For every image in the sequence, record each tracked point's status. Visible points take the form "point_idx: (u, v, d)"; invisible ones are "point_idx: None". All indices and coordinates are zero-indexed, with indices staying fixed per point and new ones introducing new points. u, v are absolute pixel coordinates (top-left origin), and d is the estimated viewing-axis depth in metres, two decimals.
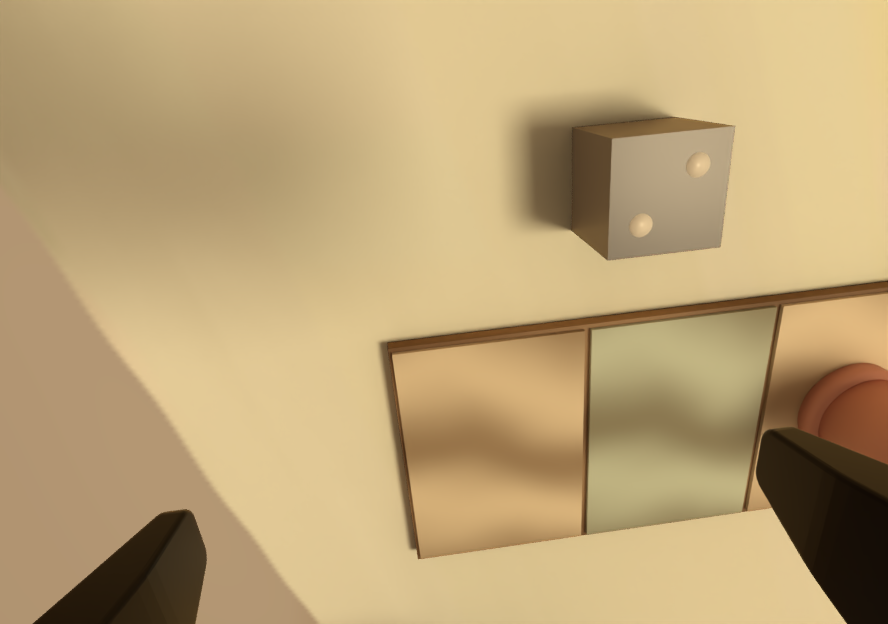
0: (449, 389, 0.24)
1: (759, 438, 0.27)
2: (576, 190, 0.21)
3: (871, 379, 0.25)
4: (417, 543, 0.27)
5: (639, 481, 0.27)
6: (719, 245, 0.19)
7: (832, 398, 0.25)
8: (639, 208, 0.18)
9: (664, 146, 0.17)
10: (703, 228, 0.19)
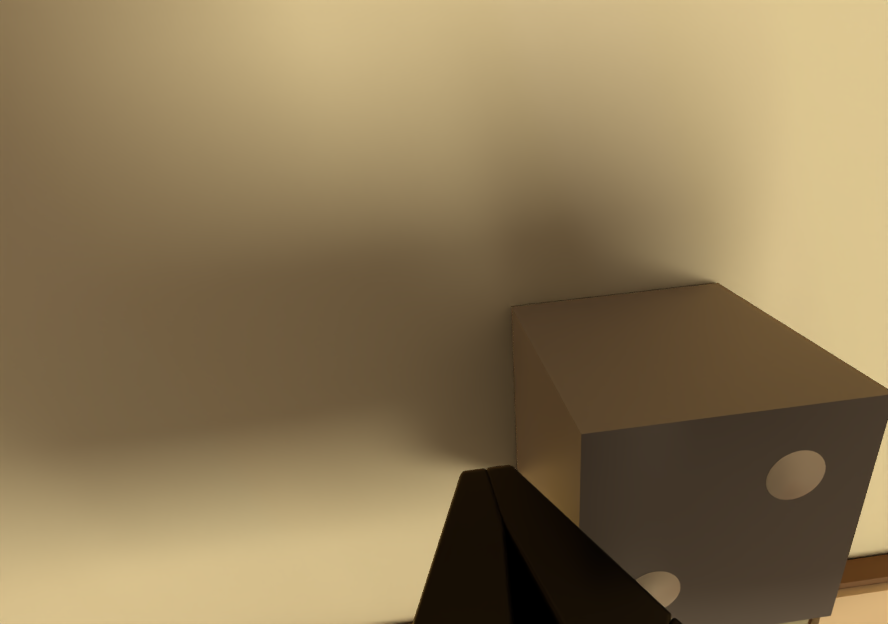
0: None
1: None
2: (522, 426, 0.11)
3: None
4: None
5: None
6: (829, 613, 0.08)
7: None
8: (649, 563, 0.08)
9: (714, 443, 0.07)
10: (796, 587, 0.08)
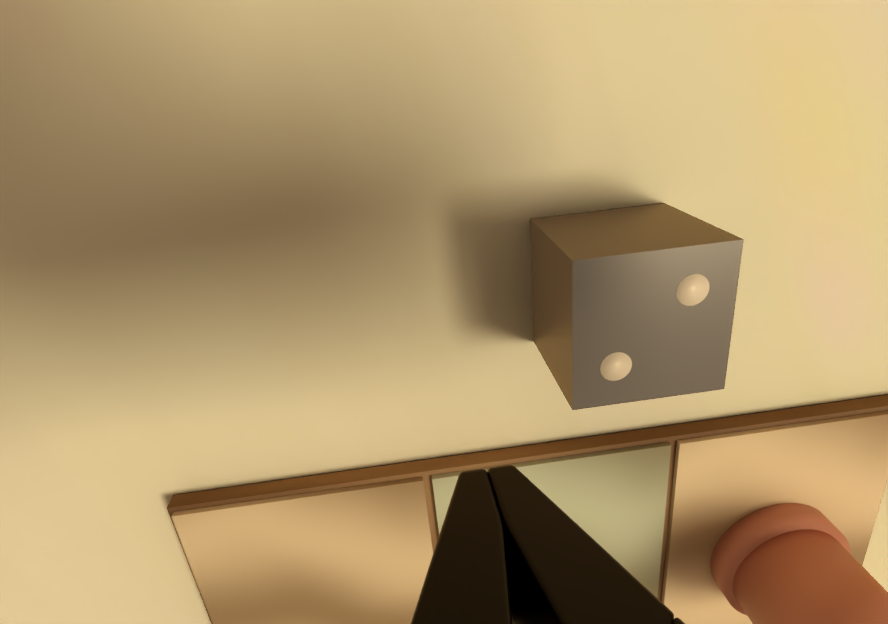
0: (255, 551, 0.19)
1: (664, 588, 0.22)
2: (537, 297, 0.16)
3: (794, 529, 0.20)
4: None
5: None
6: (722, 387, 0.14)
7: (747, 552, 0.20)
8: (613, 346, 0.13)
9: (645, 268, 0.13)
10: (701, 367, 0.14)
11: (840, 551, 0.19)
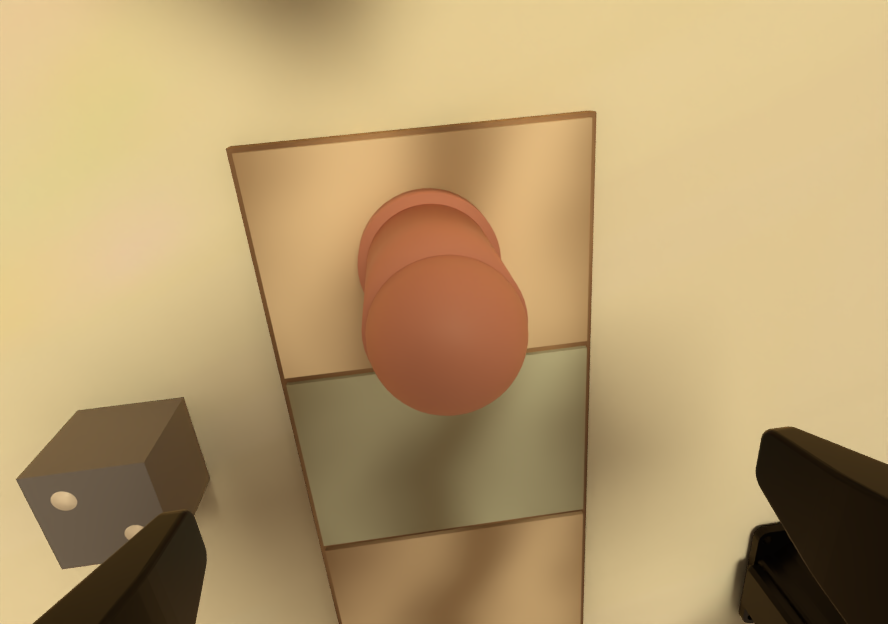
0: None
1: None
2: None
3: None
4: None
5: (515, 472, 0.24)
6: (141, 464, 0.18)
7: None
8: (120, 538, 0.19)
9: (55, 530, 0.19)
10: (127, 482, 0.18)
11: (369, 253, 0.17)
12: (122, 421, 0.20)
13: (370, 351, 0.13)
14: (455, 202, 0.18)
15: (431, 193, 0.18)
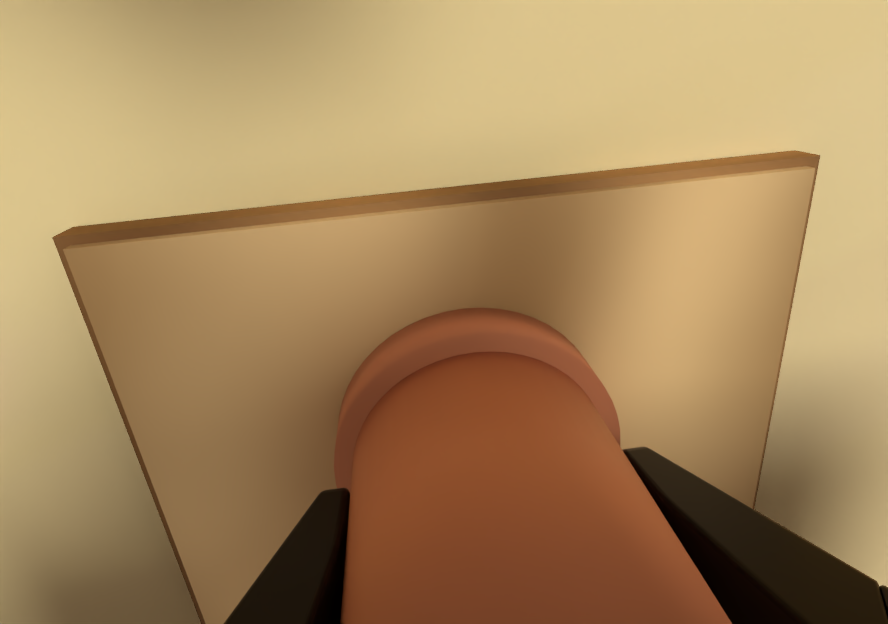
0: None
1: None
2: None
3: None
4: None
5: None
6: None
7: None
8: None
9: None
10: None
11: (357, 469, 0.08)
12: None
13: None
14: (536, 348, 0.08)
15: (487, 329, 0.08)
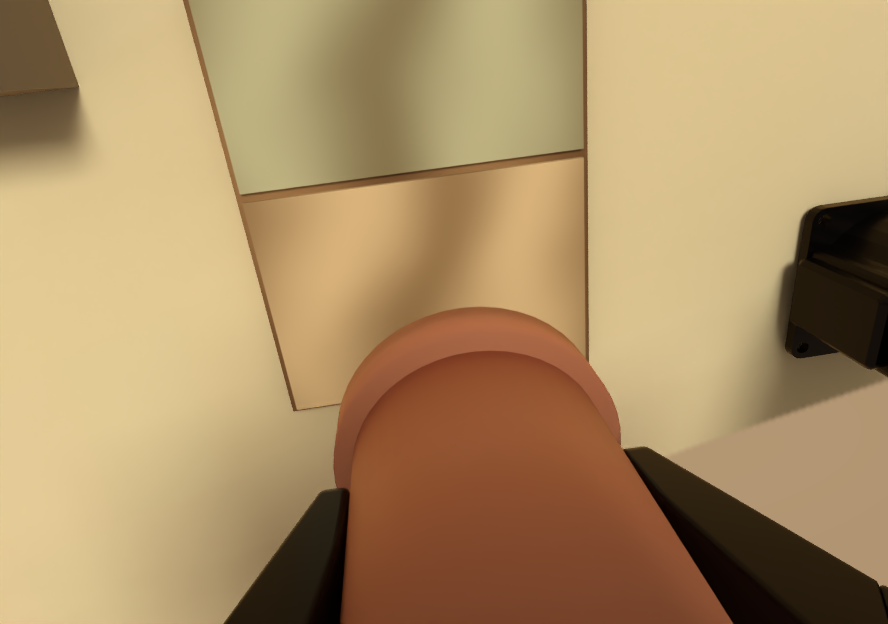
0: (336, 352, 0.21)
1: None
2: (11, 94, 0.17)
3: None
4: None
5: (490, 77, 0.18)
6: None
7: None
8: None
9: None
10: None
11: (357, 468, 0.08)
12: None
13: None
14: (537, 347, 0.08)
15: (487, 328, 0.08)
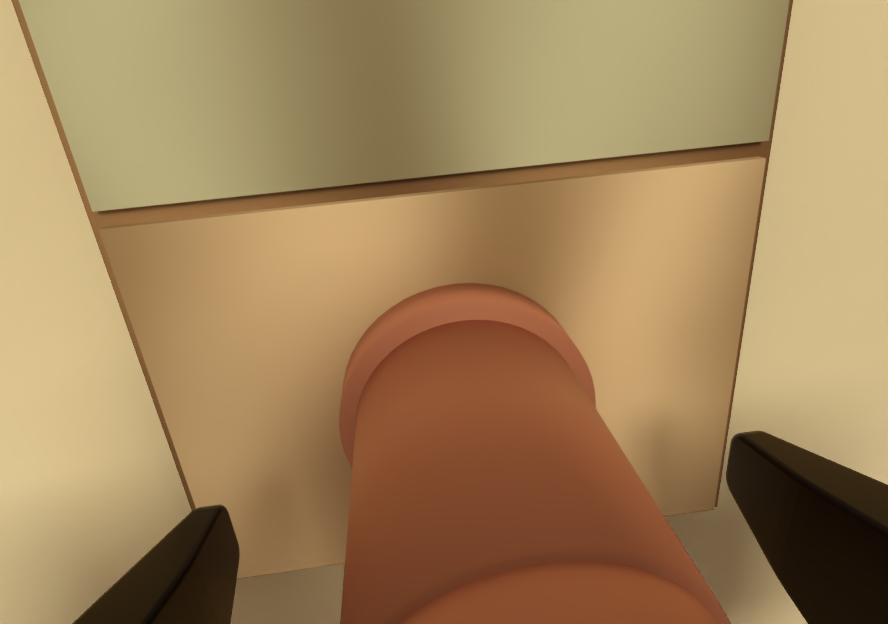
0: (290, 492, 0.12)
1: None
2: None
3: None
4: None
5: None
6: None
7: None
8: None
9: None
10: None
11: (360, 421, 0.09)
12: None
13: None
14: (519, 317, 0.09)
15: (475, 300, 0.09)
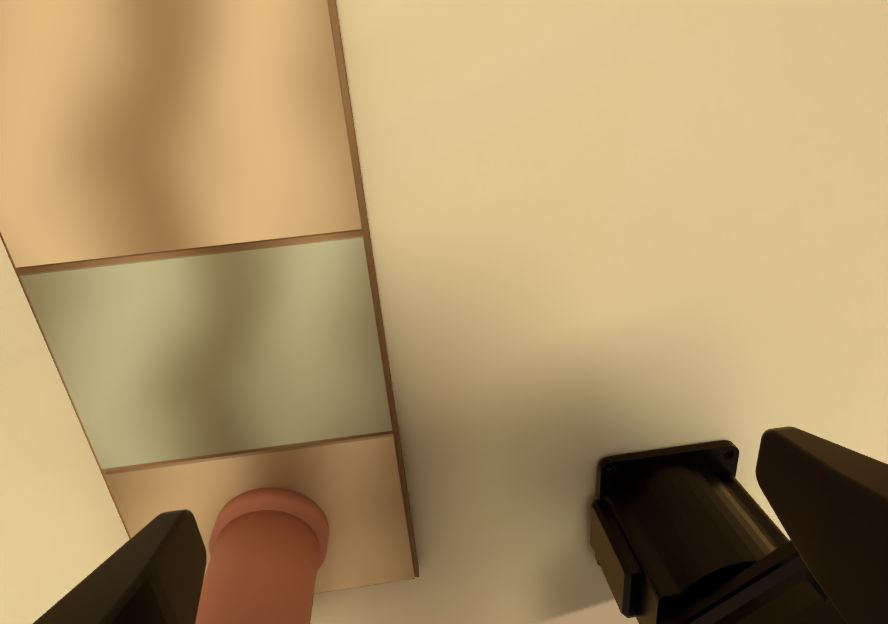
0: None
1: (228, 243, 0.19)
2: None
3: None
4: None
5: (306, 386, 0.21)
6: None
7: None
8: None
9: None
10: None
11: (211, 556, 0.22)
12: None
13: None
14: (282, 508, 0.22)
15: (263, 501, 0.22)
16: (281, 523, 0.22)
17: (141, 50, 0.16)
